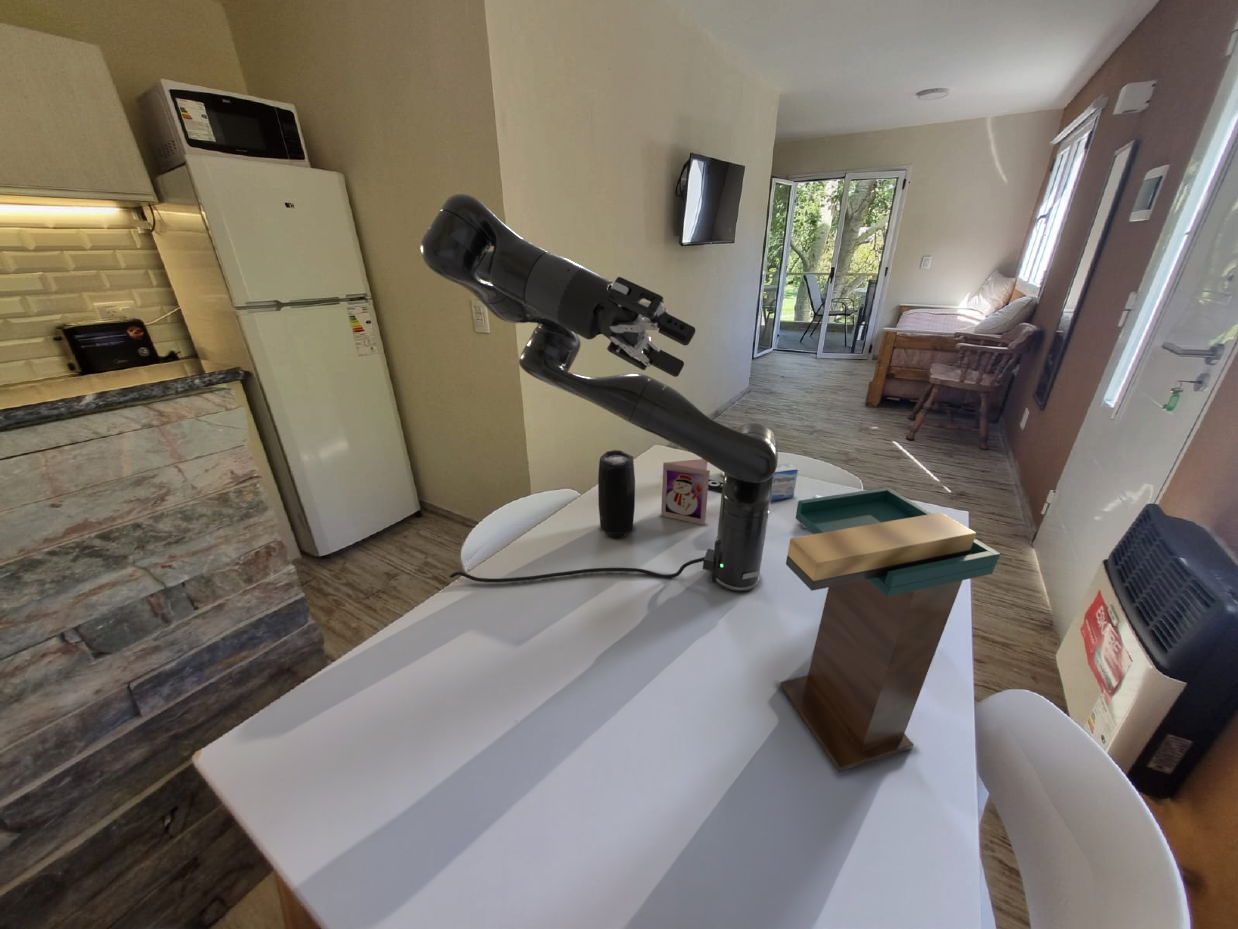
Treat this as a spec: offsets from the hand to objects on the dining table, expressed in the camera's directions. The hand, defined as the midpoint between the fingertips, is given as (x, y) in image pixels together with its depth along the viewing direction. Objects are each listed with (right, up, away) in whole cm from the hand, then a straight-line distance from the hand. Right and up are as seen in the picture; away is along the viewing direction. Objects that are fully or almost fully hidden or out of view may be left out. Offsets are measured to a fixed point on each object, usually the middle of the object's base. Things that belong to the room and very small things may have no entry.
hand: (686, 355), depth 58 cm
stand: (+24, -51, +13) cm, 58 cm away
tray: (+24, -23, 0) cm, 33 cm away
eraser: (+20, -24, -5) cm, 32 cm away
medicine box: (+36, -22, +74) cm, 85 cm away
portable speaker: (-9, -29, +59) cm, 66 cm away
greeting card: (+9, -26, +65) cm, 71 cm away
